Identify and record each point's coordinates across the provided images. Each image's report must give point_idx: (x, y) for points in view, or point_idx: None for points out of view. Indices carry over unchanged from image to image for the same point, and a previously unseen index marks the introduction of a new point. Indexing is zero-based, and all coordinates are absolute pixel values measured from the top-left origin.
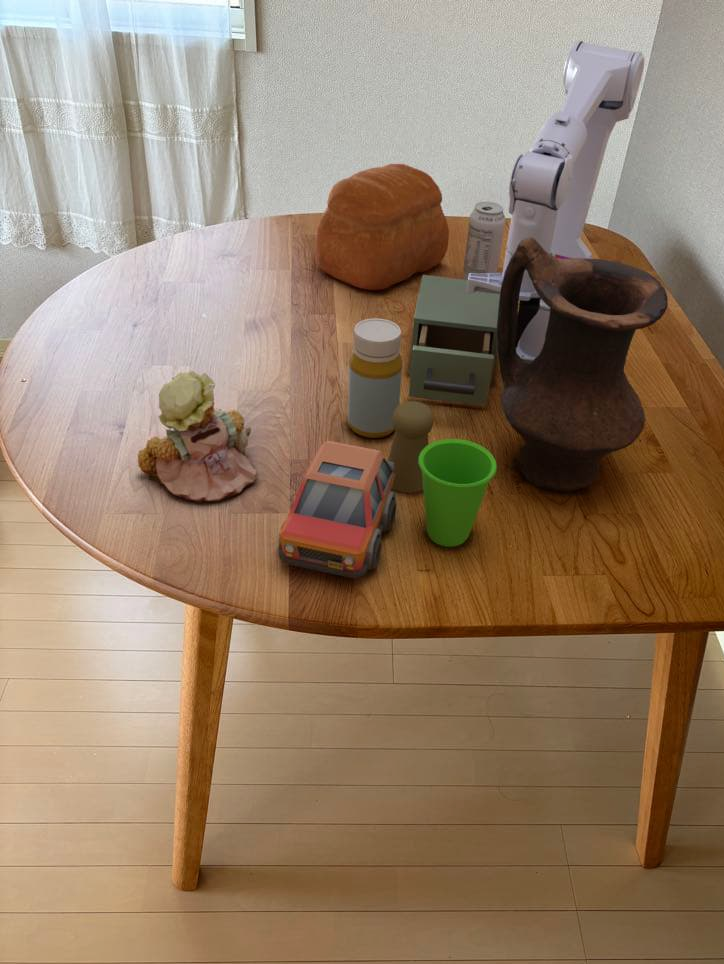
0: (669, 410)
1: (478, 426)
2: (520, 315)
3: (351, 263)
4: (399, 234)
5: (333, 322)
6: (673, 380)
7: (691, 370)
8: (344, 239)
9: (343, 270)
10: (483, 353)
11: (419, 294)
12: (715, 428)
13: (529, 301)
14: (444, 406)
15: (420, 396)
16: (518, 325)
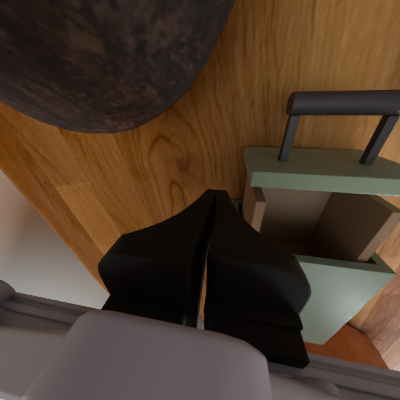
0: (65, 179)
1: (258, 103)
2: (196, 233)
3: (363, 350)
4: None
5: (389, 285)
6: (78, 222)
7: (71, 234)
8: None
9: (361, 340)
10: (264, 198)
11: (348, 319)
12: (20, 157)
13: (152, 300)
14: (299, 146)
15: (343, 150)
16: (204, 214)
